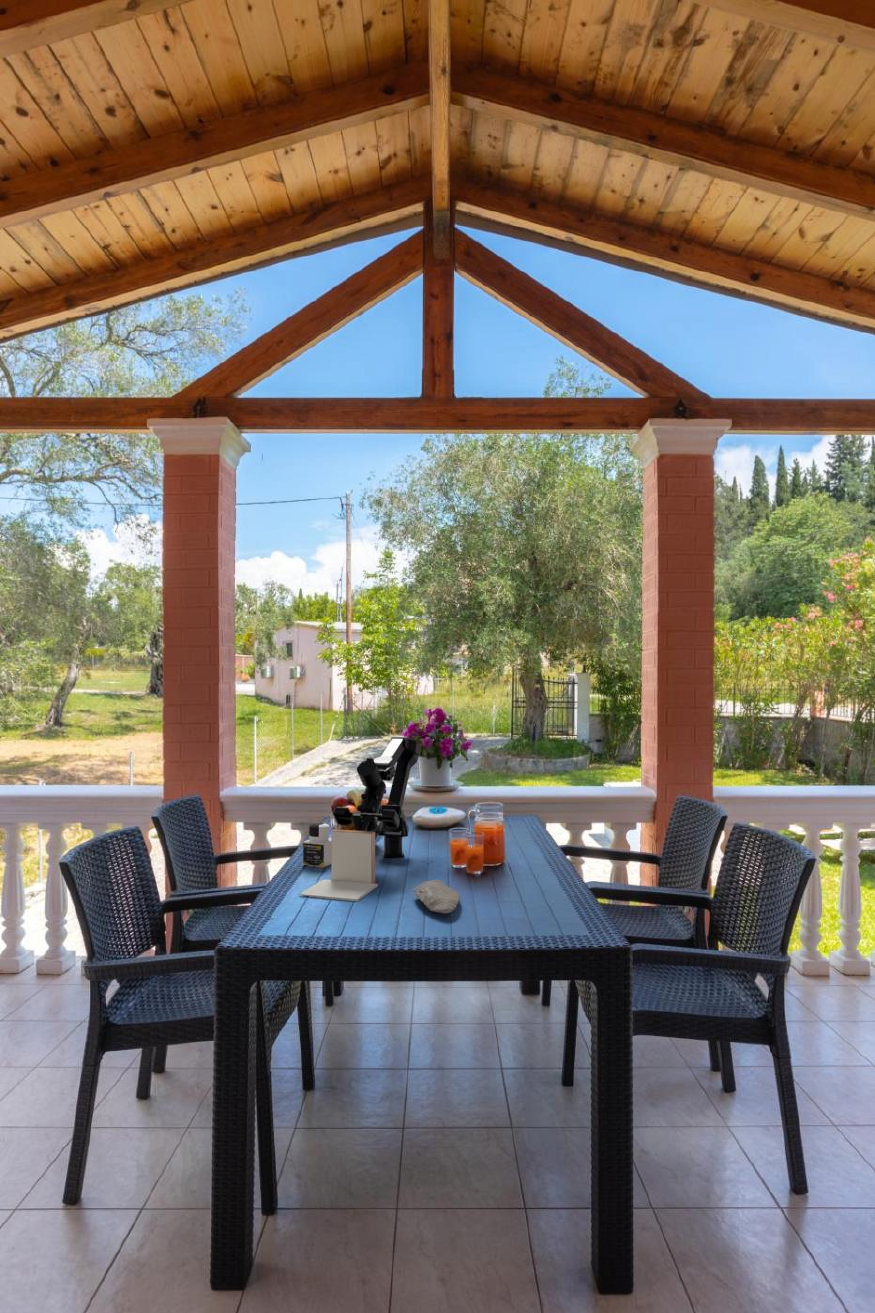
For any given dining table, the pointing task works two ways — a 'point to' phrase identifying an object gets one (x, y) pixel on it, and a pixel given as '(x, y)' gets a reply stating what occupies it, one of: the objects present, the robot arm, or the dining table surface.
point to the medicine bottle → (317, 846)
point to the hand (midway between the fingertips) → (358, 842)
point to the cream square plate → (339, 890)
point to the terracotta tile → (353, 856)
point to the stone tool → (437, 896)
